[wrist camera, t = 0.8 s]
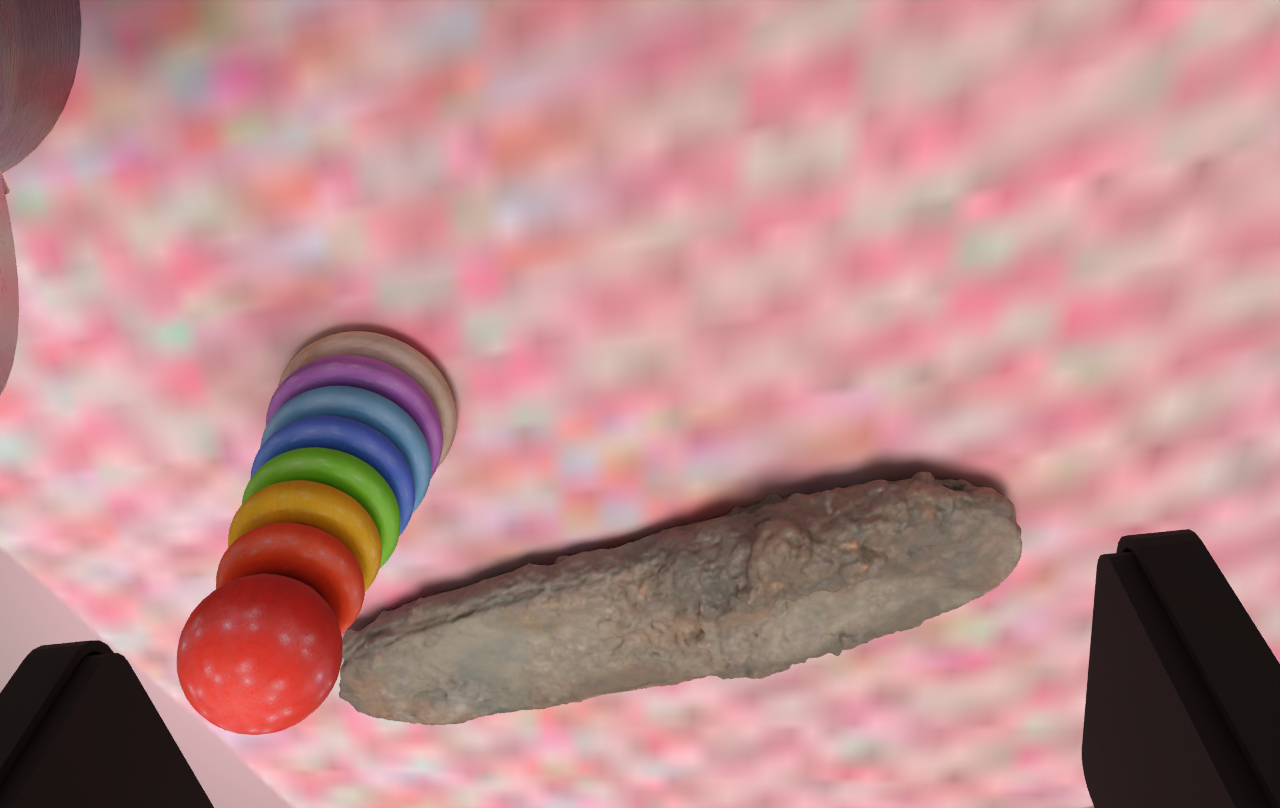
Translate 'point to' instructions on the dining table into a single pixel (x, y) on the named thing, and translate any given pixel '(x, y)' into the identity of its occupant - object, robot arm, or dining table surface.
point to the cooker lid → (7, 293)
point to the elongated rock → (689, 602)
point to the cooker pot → (34, 72)
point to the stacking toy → (314, 527)
